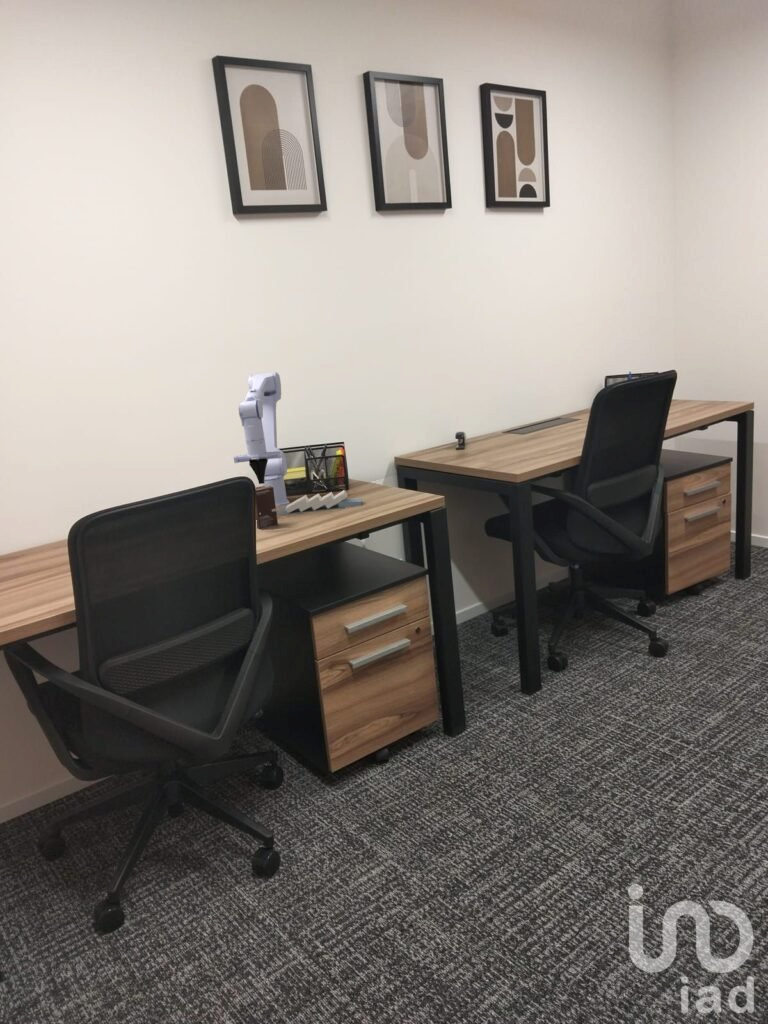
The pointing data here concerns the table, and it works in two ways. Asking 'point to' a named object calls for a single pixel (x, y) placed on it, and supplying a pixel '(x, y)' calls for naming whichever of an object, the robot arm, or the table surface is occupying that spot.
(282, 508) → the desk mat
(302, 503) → the tile
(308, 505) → the tile
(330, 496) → the tile
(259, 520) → the box
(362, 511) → the table surface
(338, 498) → the tile
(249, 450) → the robot arm
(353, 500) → the end tile
